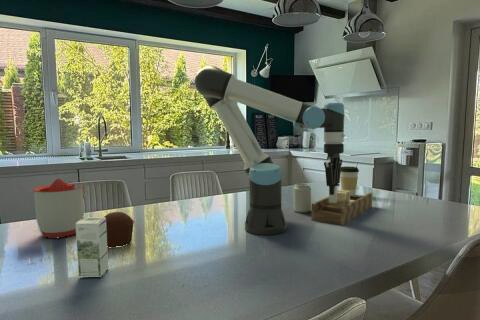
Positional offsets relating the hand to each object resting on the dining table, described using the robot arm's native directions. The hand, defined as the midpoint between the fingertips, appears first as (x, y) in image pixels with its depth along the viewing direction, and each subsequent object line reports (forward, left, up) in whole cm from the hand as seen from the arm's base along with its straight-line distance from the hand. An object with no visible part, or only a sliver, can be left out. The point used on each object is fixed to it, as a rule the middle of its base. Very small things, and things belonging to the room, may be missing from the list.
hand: (332, 202), depth 136 cm
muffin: (-67, +46, -7) cm, 82 cm away
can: (+5, +16, -7) cm, 18 cm away
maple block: (+8, 0, -3) cm, 9 cm away
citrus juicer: (-72, +71, -7) cm, 101 cm away
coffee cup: (+49, +11, -7) cm, 51 cm away
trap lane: (+13, 0, -7) cm, 15 cm away
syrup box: (-84, +30, -7) cm, 89 cm away
